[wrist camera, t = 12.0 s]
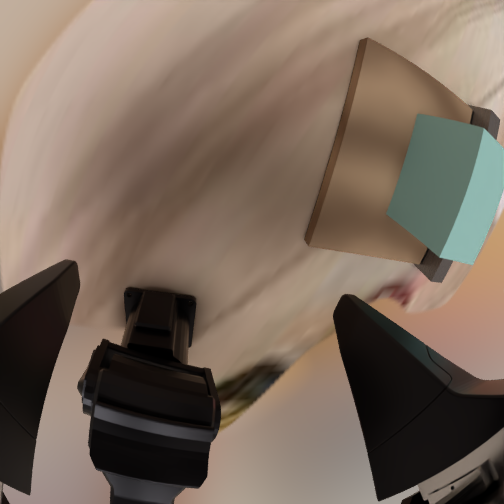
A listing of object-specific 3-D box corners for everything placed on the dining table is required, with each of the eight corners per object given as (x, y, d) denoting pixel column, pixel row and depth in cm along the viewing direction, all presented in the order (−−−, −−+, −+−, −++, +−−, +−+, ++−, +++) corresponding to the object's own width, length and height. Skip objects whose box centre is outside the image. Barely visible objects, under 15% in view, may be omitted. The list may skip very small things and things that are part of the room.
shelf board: (413, 258, 25) (419, 264, 24) (304, 239, 22) (308, 246, 21) (464, 108, 17) (472, 109, 16) (360, 40, 14) (367, 37, 13)
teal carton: (454, 137, 17) (513, 159, 11) (424, 225, 21) (473, 265, 15) (417, 113, 16) (484, 128, 10) (385, 214, 20) (439, 257, 14)
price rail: (425, 264, 25) (443, 282, 22) (412, 262, 25) (430, 281, 22) (477, 115, 17) (501, 121, 14) (465, 104, 17) (491, 110, 14)
